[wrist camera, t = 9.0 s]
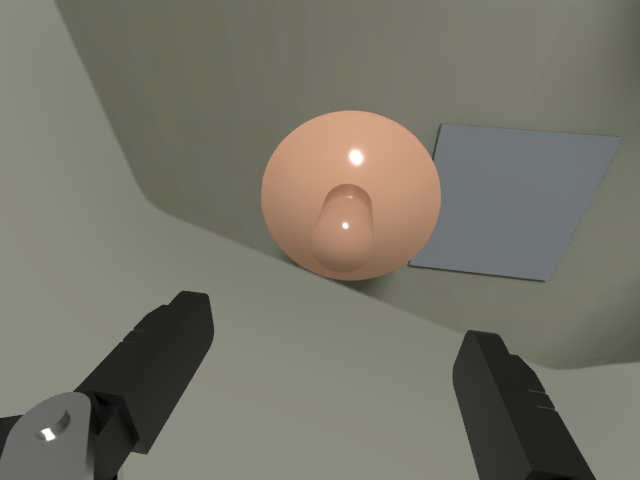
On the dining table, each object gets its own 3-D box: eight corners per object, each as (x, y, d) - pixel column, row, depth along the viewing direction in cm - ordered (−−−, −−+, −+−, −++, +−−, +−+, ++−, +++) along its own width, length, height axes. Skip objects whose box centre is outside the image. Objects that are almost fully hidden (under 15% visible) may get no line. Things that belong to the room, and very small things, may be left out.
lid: (457, 115, 16) (501, 131, 11) (418, 280, 22) (435, 344, 16) (261, 104, 18) (217, 114, 12) (268, 264, 23) (239, 319, 17)
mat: (618, 136, 24) (622, 137, 24) (547, 278, 31) (549, 281, 31) (440, 123, 26) (441, 124, 25) (408, 262, 32) (409, 265, 32)
